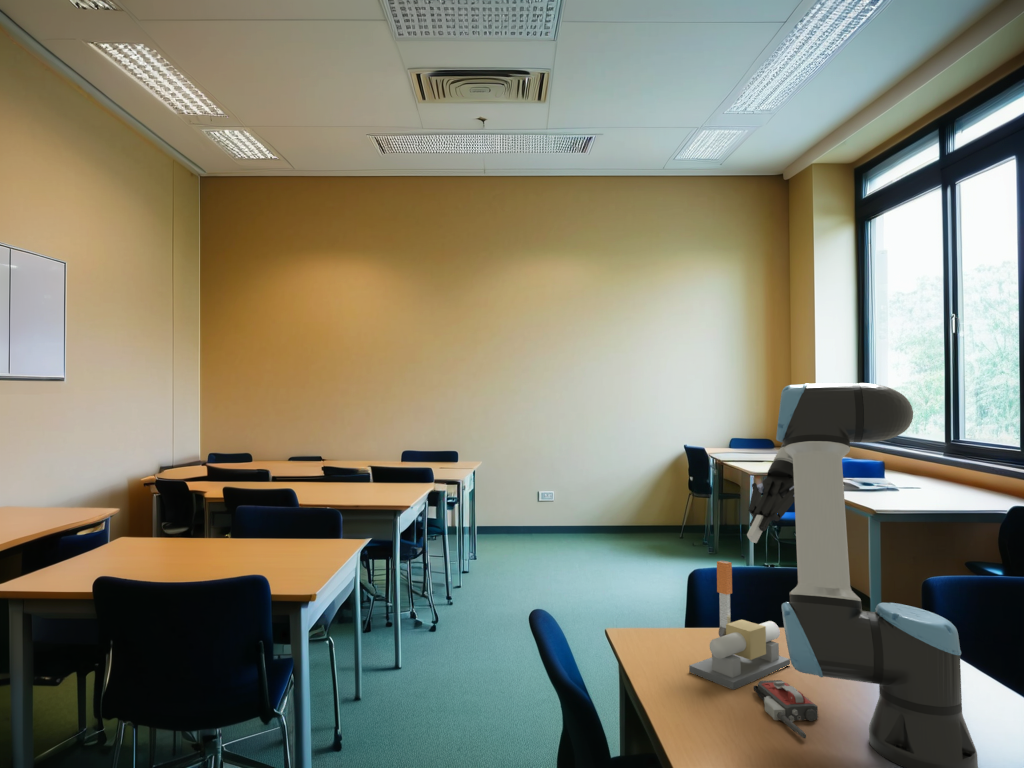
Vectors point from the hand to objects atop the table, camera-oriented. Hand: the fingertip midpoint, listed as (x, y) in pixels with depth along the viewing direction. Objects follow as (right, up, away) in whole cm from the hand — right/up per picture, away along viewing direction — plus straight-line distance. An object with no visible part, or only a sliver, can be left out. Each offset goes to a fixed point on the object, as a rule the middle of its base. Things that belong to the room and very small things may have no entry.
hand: (751, 539), depth 150 cm
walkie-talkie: (-6, -25, -34) cm, 43 cm away
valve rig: (-7, -26, -12) cm, 30 cm away
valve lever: (-10, -21, -9) cm, 25 cm away
